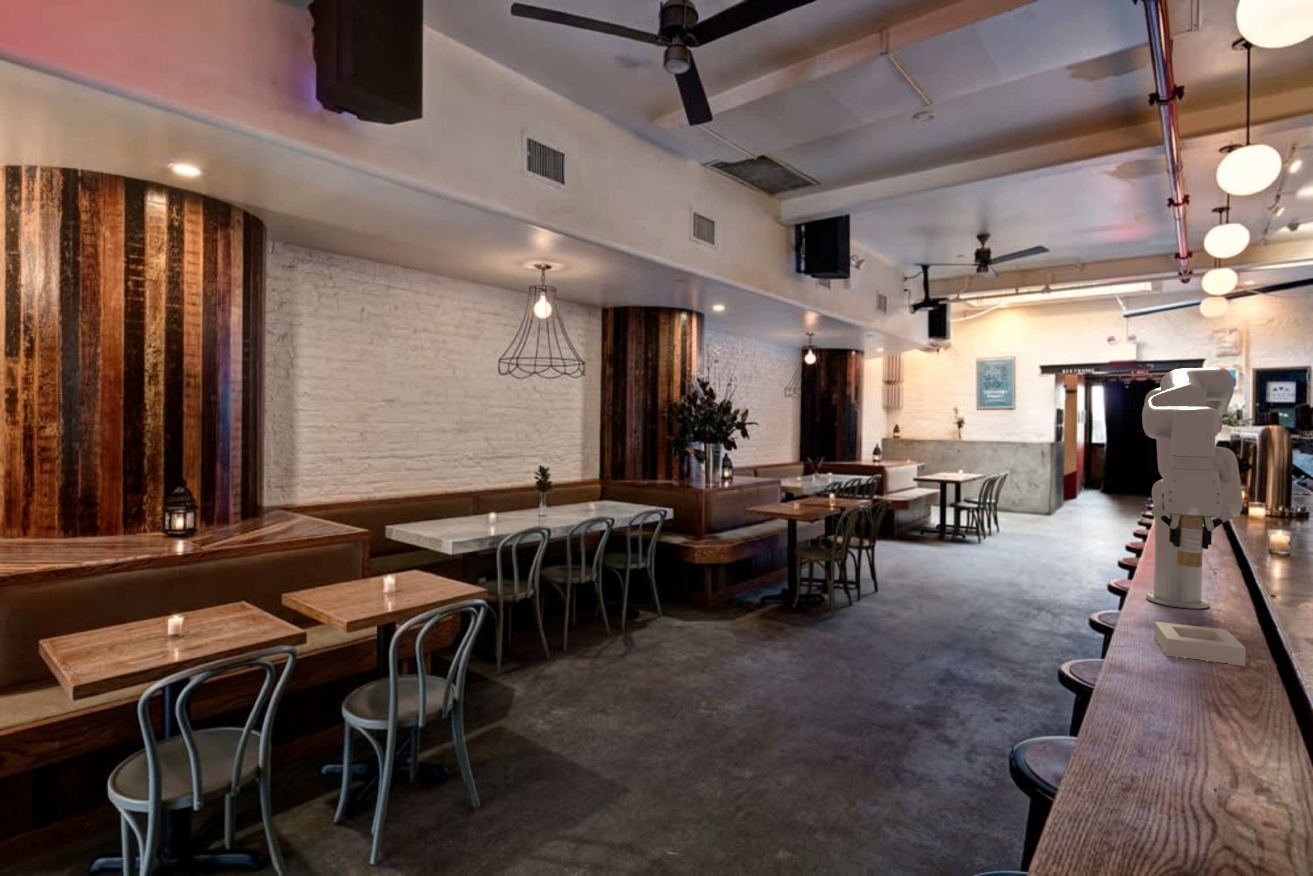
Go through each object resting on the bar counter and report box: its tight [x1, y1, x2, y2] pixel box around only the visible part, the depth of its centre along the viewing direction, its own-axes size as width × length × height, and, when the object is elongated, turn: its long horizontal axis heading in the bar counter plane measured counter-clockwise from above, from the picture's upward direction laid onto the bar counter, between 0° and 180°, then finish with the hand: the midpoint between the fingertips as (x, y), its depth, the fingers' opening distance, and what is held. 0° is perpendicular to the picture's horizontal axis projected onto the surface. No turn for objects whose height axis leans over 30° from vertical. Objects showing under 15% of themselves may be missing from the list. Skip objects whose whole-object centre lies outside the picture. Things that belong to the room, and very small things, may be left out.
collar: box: [1153, 621, 1247, 667], centre depth 134 cm, size 12×12×4 cm
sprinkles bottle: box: [1177, 508, 1204, 568], centre depth 146 cm, size 5×5×14 cm
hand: (1189, 546), depth 146 cm, fingers closed on sprinkles bottle, 4 cm apart
